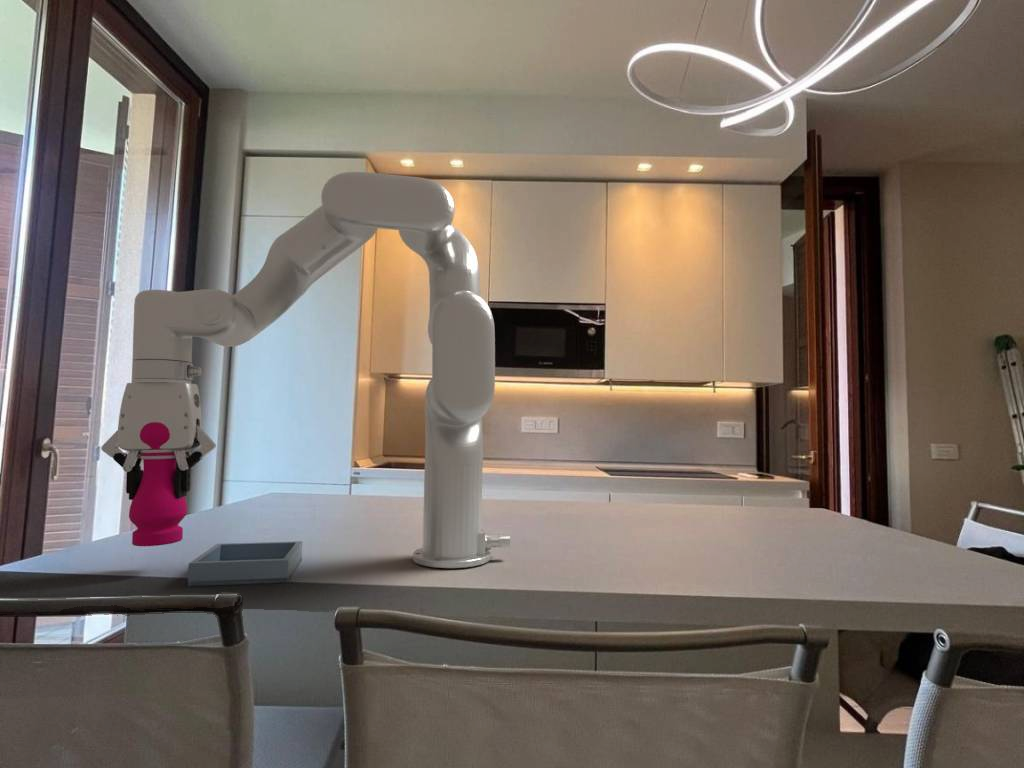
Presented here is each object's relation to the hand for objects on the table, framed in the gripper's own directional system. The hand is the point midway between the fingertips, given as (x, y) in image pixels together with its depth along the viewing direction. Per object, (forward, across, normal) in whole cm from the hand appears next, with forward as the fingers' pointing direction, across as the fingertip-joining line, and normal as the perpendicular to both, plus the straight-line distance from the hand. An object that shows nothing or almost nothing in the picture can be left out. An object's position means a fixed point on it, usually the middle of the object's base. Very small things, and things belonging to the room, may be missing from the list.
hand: (158, 496), depth 83 cm
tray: (+11, -13, +2) cm, 17 cm away
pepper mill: (+7, 0, 0) cm, 7 cm away
